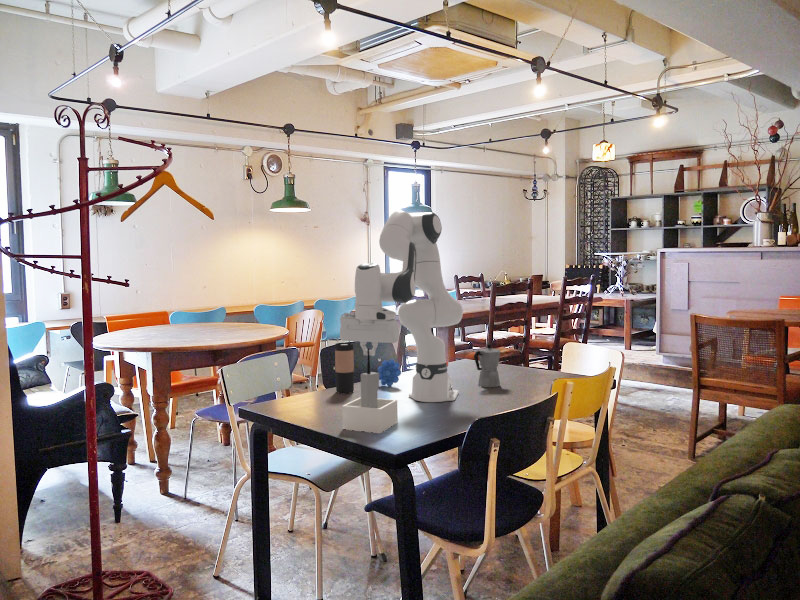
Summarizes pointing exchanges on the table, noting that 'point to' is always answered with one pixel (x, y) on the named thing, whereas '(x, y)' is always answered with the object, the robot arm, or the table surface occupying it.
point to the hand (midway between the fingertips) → (369, 355)
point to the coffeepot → (488, 366)
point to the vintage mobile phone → (369, 387)
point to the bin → (369, 416)
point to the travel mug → (344, 367)
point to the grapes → (389, 372)
